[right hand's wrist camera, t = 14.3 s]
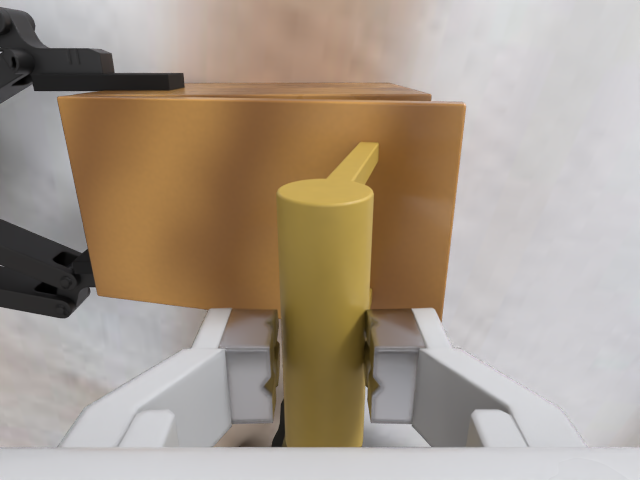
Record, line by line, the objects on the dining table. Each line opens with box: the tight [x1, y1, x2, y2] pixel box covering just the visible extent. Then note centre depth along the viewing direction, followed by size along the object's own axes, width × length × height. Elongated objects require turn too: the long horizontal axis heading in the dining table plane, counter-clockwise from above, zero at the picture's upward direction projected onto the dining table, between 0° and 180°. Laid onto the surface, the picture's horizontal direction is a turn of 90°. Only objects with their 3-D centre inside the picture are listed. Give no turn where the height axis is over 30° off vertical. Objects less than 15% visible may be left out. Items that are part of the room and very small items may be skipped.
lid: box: [57, 95, 466, 447], centre depth 15 cm, size 16×9×9 cm, turn 90°
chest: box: [75, 83, 431, 101], centre depth 26 cm, size 15×9×11 cm, turn 90°
